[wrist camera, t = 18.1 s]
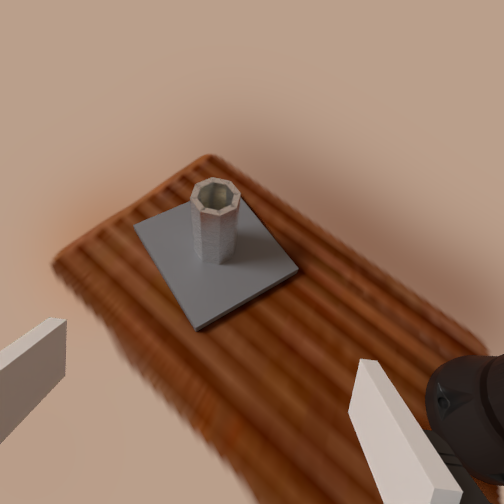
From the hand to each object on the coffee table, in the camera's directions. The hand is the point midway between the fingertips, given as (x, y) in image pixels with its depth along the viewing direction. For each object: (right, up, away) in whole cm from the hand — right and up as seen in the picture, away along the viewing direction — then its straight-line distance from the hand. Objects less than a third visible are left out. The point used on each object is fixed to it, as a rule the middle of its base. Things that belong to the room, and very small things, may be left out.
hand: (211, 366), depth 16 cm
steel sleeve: (-4, +6, +39) cm, 40 cm away
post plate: (-4, +5, +40) cm, 41 cm away
